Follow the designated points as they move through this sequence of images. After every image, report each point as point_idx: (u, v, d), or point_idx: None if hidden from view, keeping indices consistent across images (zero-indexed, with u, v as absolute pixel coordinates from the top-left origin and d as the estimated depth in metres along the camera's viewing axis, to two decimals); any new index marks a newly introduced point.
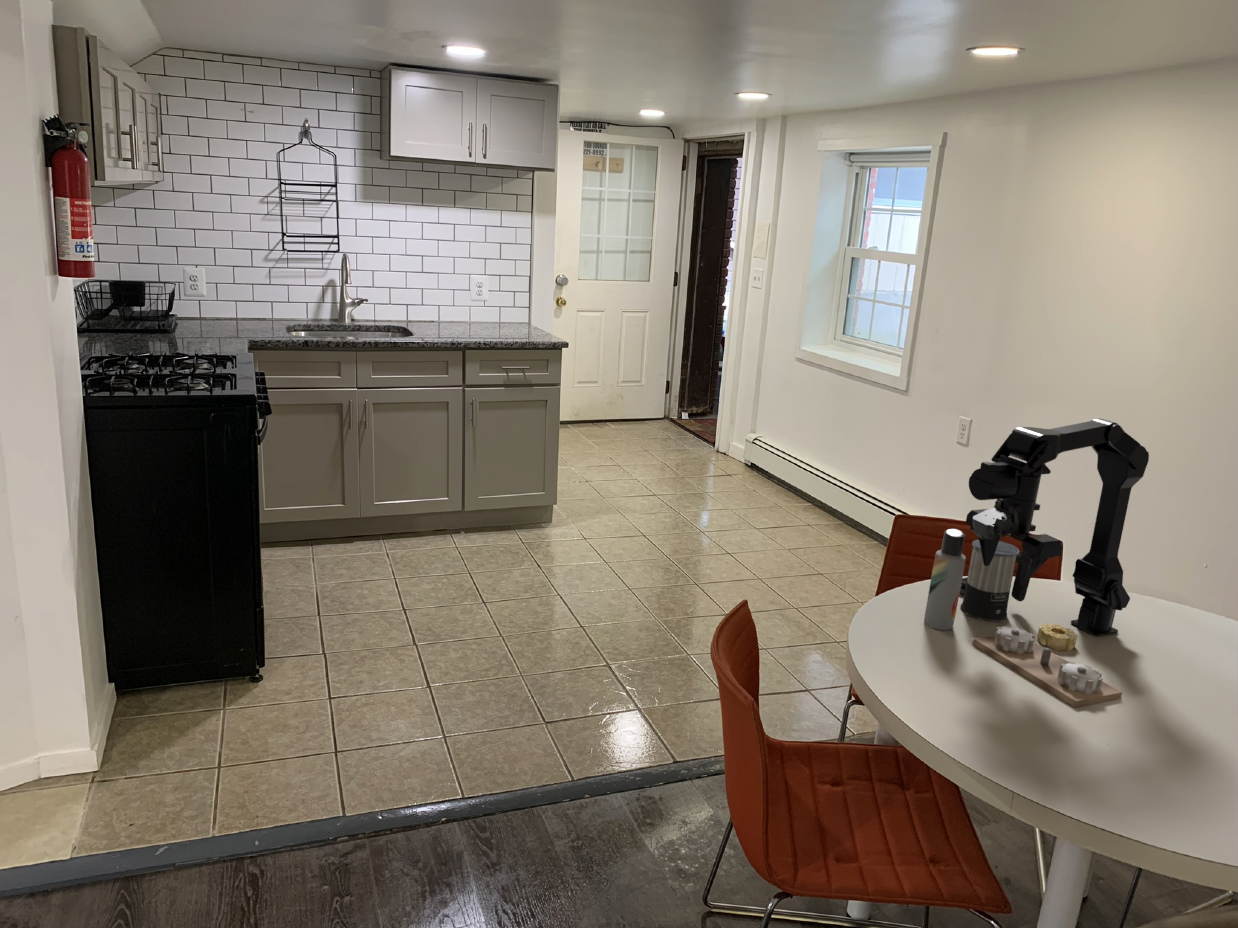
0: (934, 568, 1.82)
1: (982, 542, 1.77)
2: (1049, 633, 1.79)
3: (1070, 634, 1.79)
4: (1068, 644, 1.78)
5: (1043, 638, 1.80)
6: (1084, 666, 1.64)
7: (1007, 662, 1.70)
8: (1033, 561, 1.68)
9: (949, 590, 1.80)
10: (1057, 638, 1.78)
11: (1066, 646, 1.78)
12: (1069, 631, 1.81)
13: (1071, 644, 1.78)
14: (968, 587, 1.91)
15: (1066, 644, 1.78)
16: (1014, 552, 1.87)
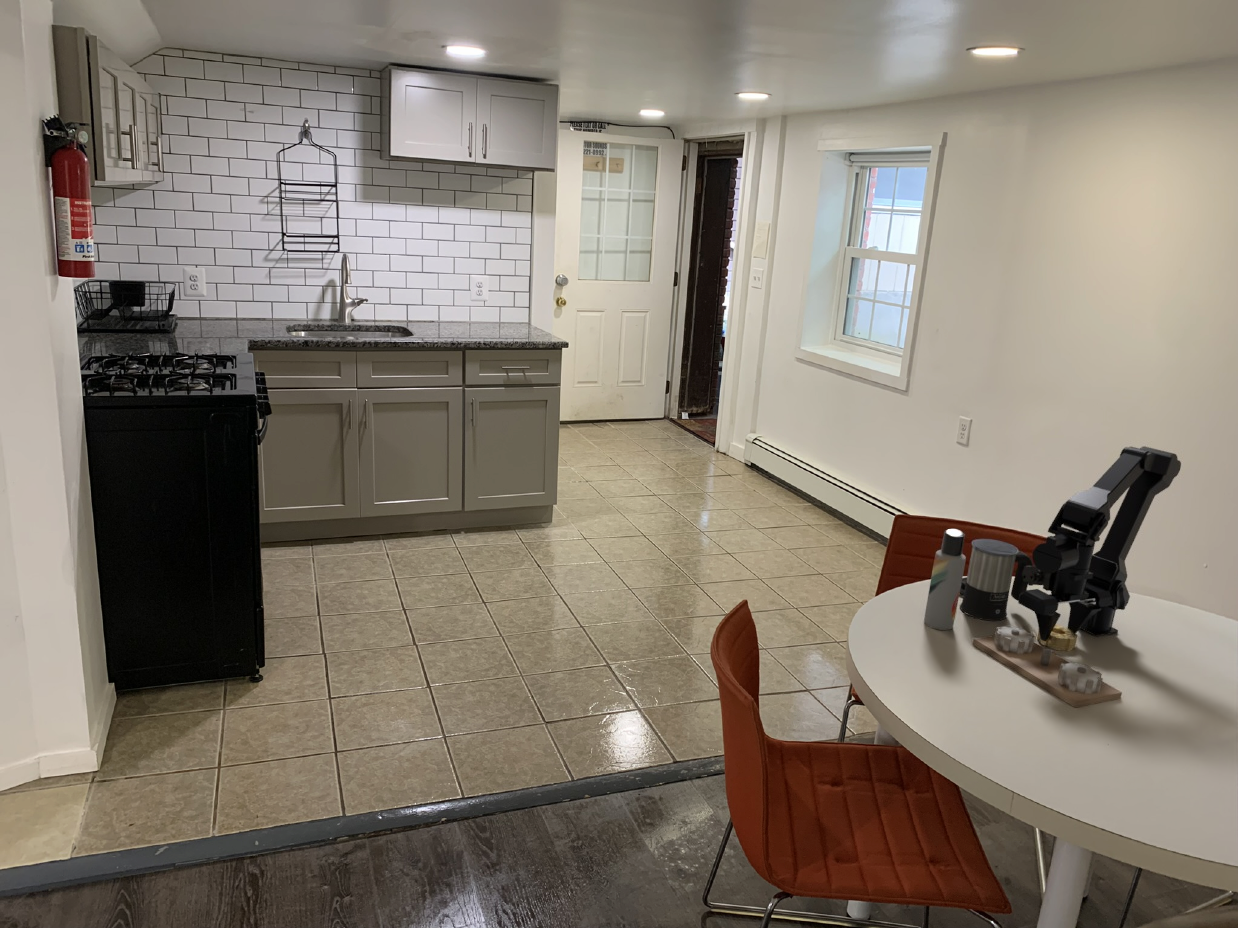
0: (934, 568, 1.82)
1: None
2: None
3: (1070, 634, 1.79)
4: (1068, 644, 1.78)
5: None
6: (1084, 666, 1.64)
7: (1007, 662, 1.70)
8: (1044, 617, 1.78)
9: (949, 590, 1.80)
10: (1057, 638, 1.78)
11: (1066, 646, 1.78)
12: (1069, 631, 1.81)
13: (1071, 644, 1.78)
14: (968, 586, 1.91)
15: (1066, 644, 1.78)
16: (1013, 552, 1.87)
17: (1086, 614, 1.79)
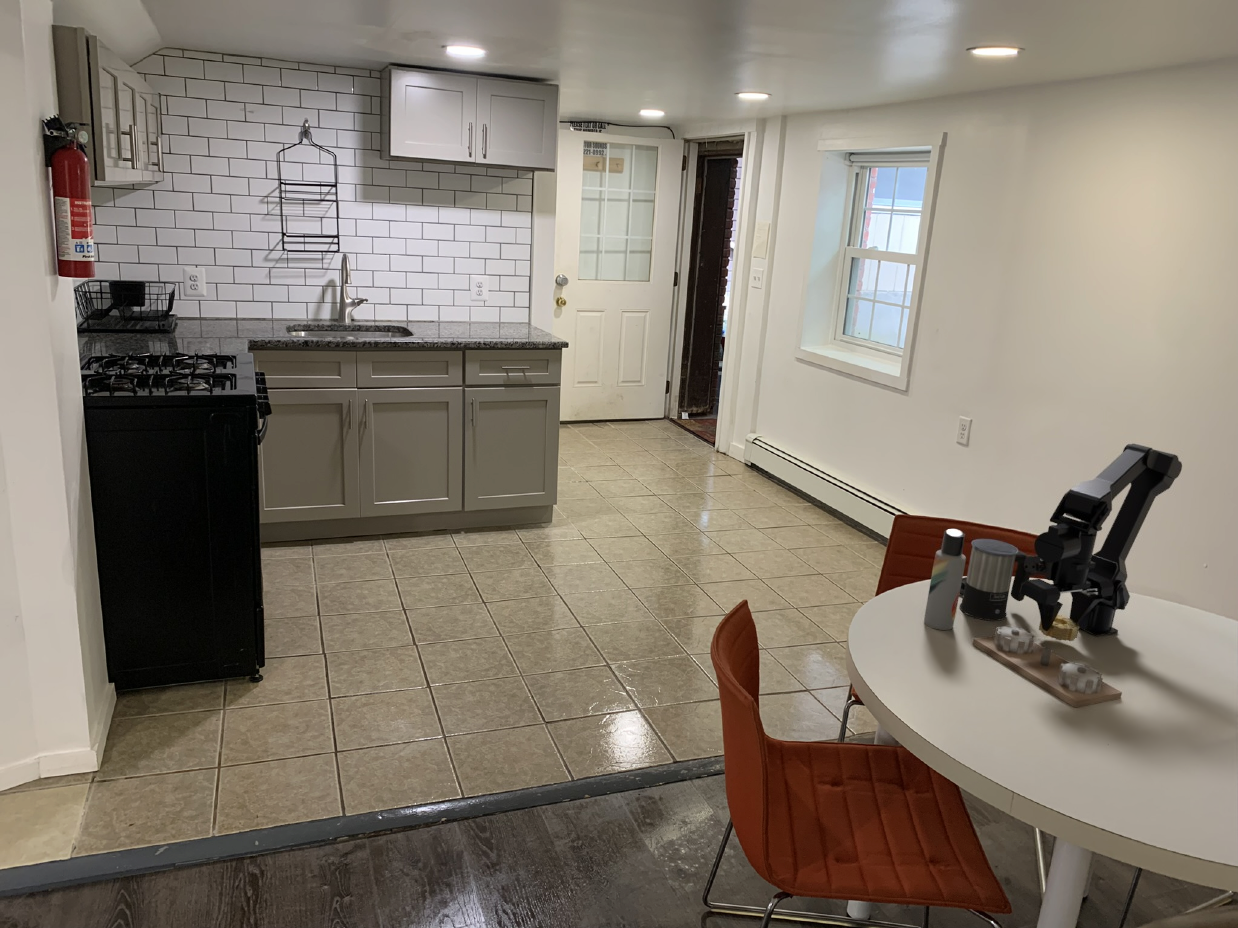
0: (934, 568, 1.82)
1: None
2: None
3: (1072, 624, 1.79)
4: (1070, 634, 1.77)
5: None
6: (1084, 666, 1.64)
7: (1007, 662, 1.70)
8: (1046, 607, 1.77)
9: (949, 590, 1.80)
10: (1059, 628, 1.77)
11: (1068, 636, 1.77)
12: (1071, 621, 1.80)
13: (1073, 634, 1.77)
14: (967, 586, 1.91)
15: (1068, 634, 1.77)
16: (1013, 552, 1.87)
17: (1088, 604, 1.78)
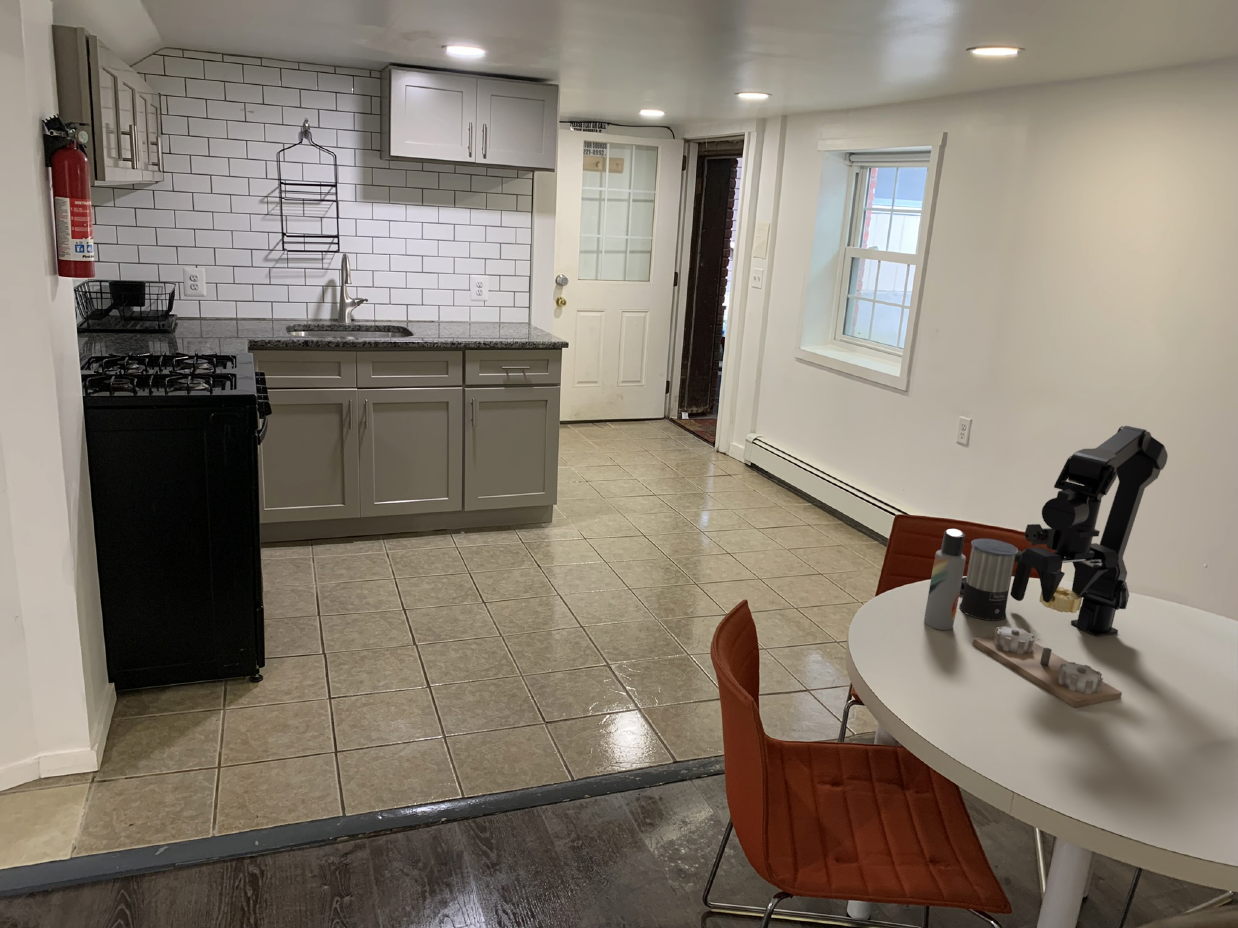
0: (934, 568, 1.82)
1: None
2: None
3: (1074, 596, 1.71)
4: (1072, 606, 1.69)
5: None
6: (1084, 666, 1.64)
7: (1007, 662, 1.70)
8: (1048, 577, 1.69)
9: (949, 590, 1.80)
10: (1061, 599, 1.69)
11: (1070, 608, 1.69)
12: (1073, 593, 1.72)
13: (1075, 606, 1.69)
14: (967, 586, 1.92)
15: (1070, 606, 1.69)
16: (1013, 552, 1.87)
17: (1091, 575, 1.70)
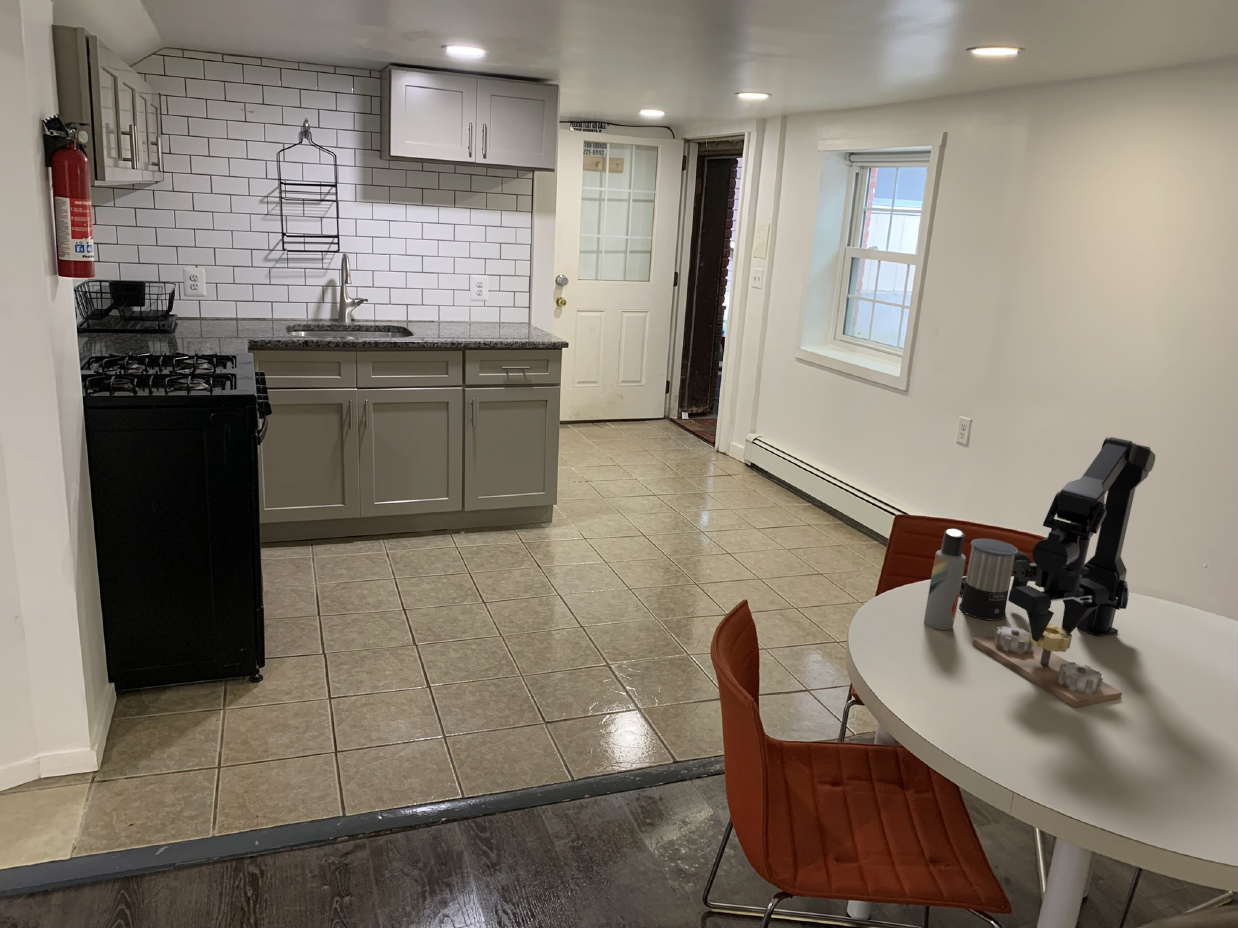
0: (934, 568, 1.82)
1: None
2: None
3: (1064, 634, 1.66)
4: (1062, 645, 1.65)
5: None
6: (1084, 666, 1.64)
7: (1007, 662, 1.70)
8: (1036, 616, 1.64)
9: (949, 590, 1.80)
10: (1050, 638, 1.64)
11: (1060, 647, 1.65)
12: (1063, 630, 1.68)
13: (1065, 645, 1.65)
14: (967, 586, 1.92)
15: (1060, 645, 1.65)
16: (1013, 551, 1.87)
17: (1081, 612, 1.66)
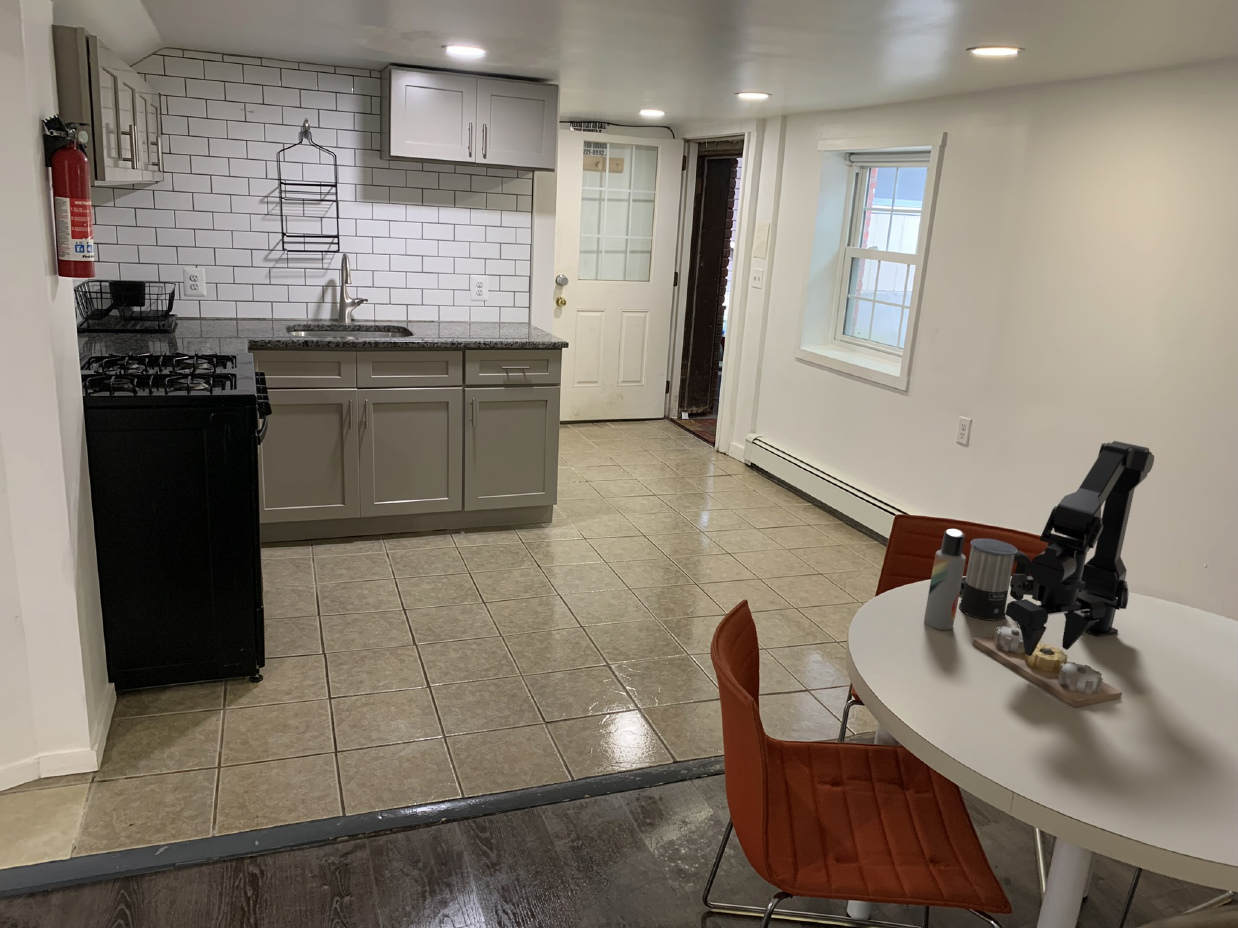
0: (934, 568, 1.82)
1: None
2: (1037, 654, 1.67)
3: (1060, 655, 1.67)
4: (1057, 666, 1.66)
5: (1031, 659, 1.68)
6: (1084, 666, 1.64)
7: (1007, 662, 1.70)
8: (1029, 630, 1.65)
9: (949, 590, 1.80)
10: (1046, 659, 1.66)
11: (1055, 668, 1.66)
12: (1059, 651, 1.69)
13: None
14: (966, 586, 1.92)
15: (1055, 666, 1.66)
16: (1012, 551, 1.87)
17: (1082, 625, 1.67)
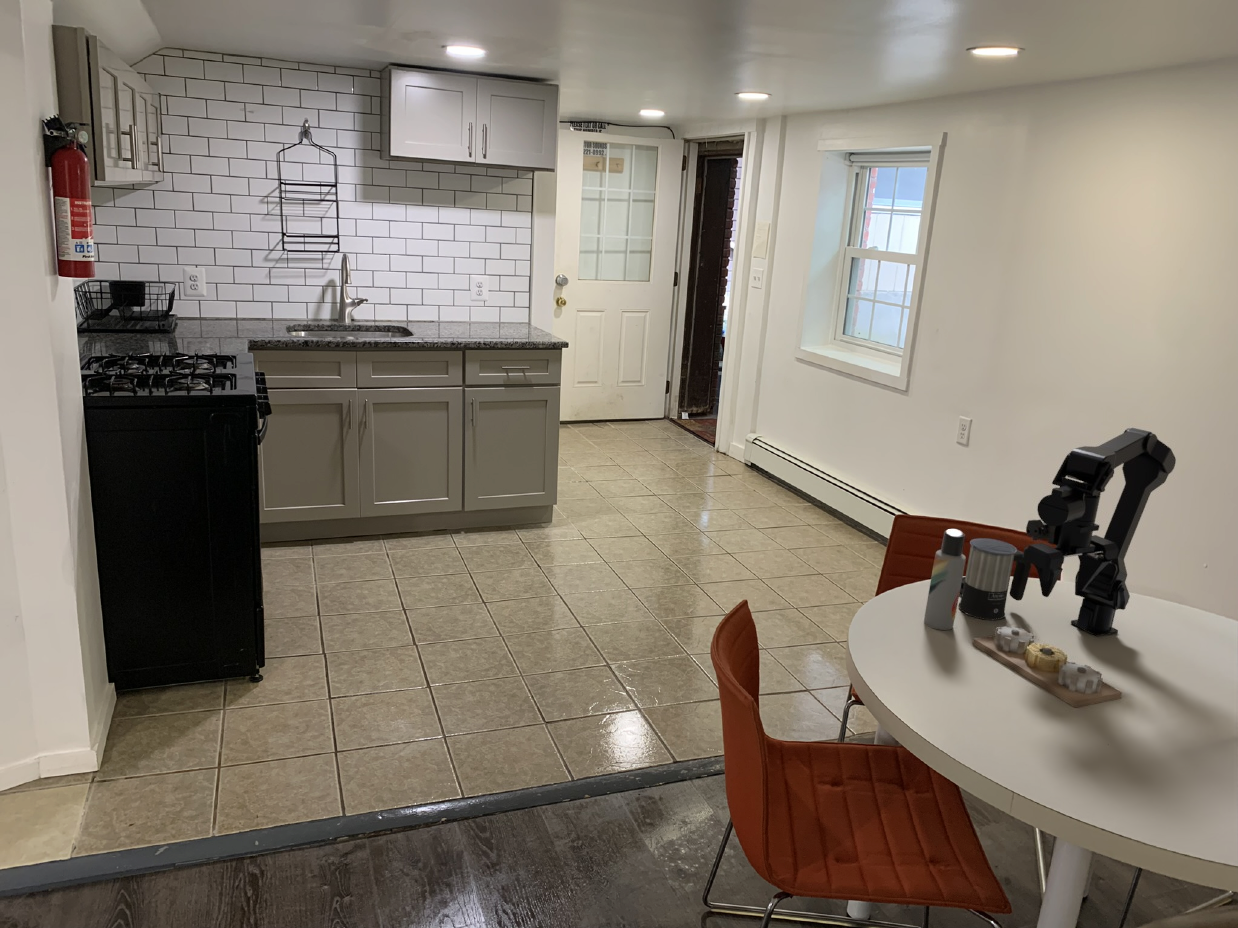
0: (934, 568, 1.82)
1: None
2: (1037, 654, 1.67)
3: (1060, 655, 1.67)
4: (1057, 666, 1.66)
5: (1031, 659, 1.68)
6: (1084, 666, 1.64)
7: (1007, 662, 1.70)
8: (1046, 573, 1.72)
9: (949, 590, 1.80)
10: (1046, 659, 1.66)
11: (1055, 668, 1.66)
12: (1059, 651, 1.69)
13: None
14: (966, 586, 1.92)
15: (1055, 666, 1.66)
16: (1012, 551, 1.88)
17: (1096, 567, 1.75)
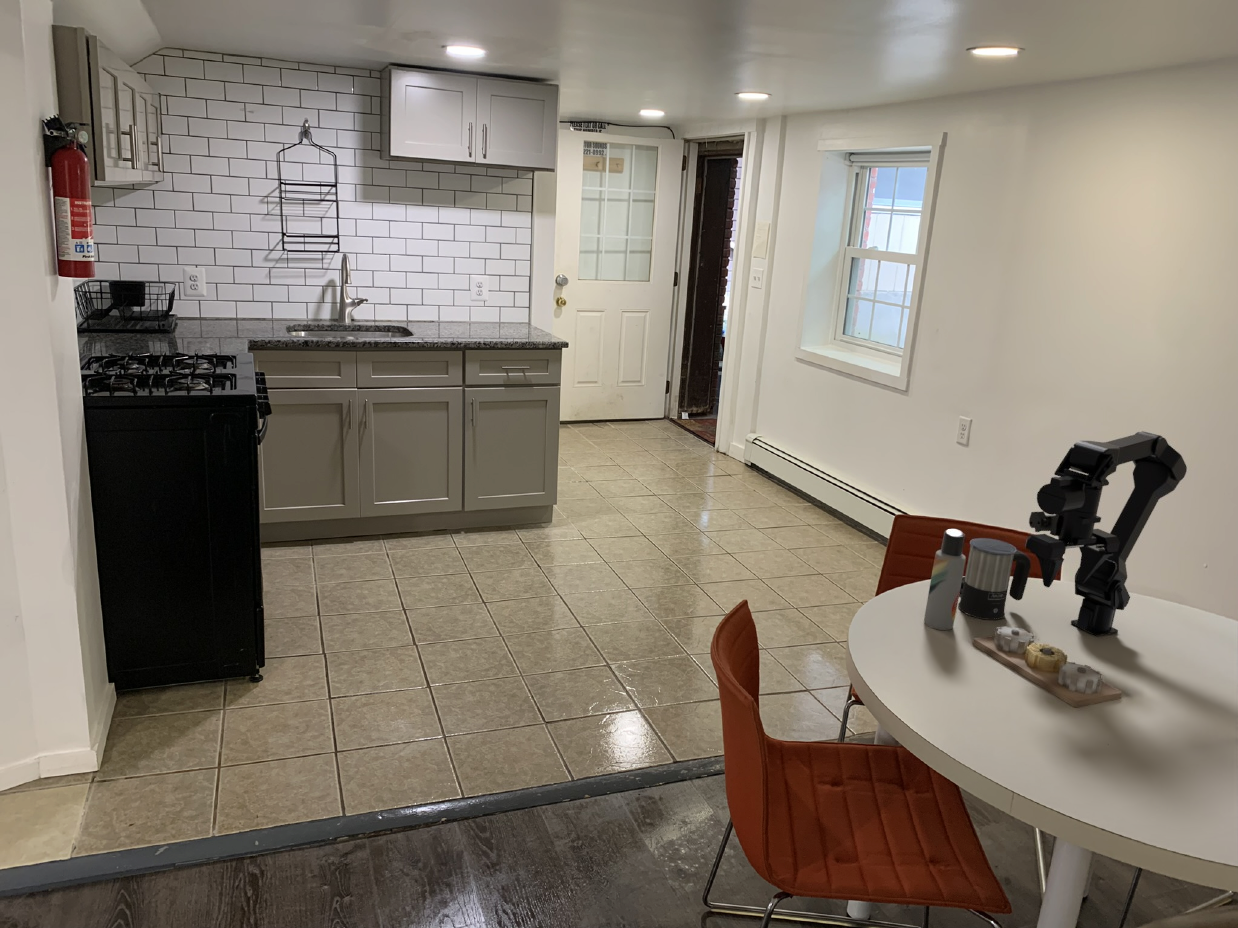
0: (934, 568, 1.82)
1: None
2: (1037, 654, 1.67)
3: (1060, 655, 1.67)
4: (1057, 666, 1.66)
5: (1031, 659, 1.68)
6: (1084, 666, 1.64)
7: (1007, 662, 1.70)
8: (1048, 563, 1.75)
9: (949, 590, 1.80)
10: (1046, 659, 1.66)
11: (1055, 668, 1.66)
12: (1059, 651, 1.69)
13: None
14: (966, 585, 1.92)
15: (1055, 666, 1.66)
16: (1011, 551, 1.88)
17: (1098, 559, 1.77)
